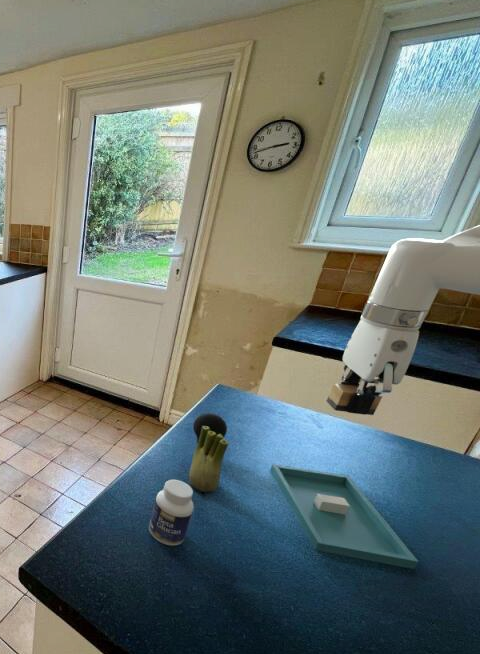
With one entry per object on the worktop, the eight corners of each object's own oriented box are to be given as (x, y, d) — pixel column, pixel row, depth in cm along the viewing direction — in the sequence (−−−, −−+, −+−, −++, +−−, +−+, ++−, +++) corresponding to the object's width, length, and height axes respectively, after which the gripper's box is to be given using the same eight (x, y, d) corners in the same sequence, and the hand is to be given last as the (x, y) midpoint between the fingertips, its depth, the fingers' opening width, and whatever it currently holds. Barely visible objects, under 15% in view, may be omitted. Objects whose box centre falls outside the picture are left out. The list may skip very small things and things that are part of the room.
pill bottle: (149, 542, 67) (161, 495, 62) (147, 517, 71) (158, 473, 67) (186, 550, 65) (201, 503, 61) (181, 525, 70) (195, 480, 66)
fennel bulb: (184, 473, 81) (198, 422, 76) (211, 478, 80) (228, 426, 75) (189, 494, 76) (205, 440, 71) (219, 499, 75) (237, 445, 70)
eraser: (362, 405, 80) (371, 387, 78) (373, 415, 76) (382, 396, 75) (326, 401, 81) (333, 383, 79) (334, 410, 78) (343, 392, 76)
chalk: (339, 506, 73) (344, 497, 72) (345, 514, 71) (350, 506, 70) (313, 502, 74) (317, 493, 73) (318, 510, 72) (322, 501, 71)
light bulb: (181, 446, 89) (192, 407, 85) (210, 448, 89) (222, 408, 84) (192, 464, 84) (204, 422, 80) (222, 465, 84) (236, 424, 79)
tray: (344, 484, 79) (349, 475, 78) (412, 571, 62) (419, 561, 61) (268, 472, 82) (272, 464, 81) (313, 552, 65) (318, 542, 64)
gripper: (455, 334, 62) (400, 434, 70) (390, 303, 77) (351, 389, 85) (394, 329, 64) (348, 427, 72) (342, 299, 79) (308, 384, 87)
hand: (350, 406), depth 79 cm, fingers closed on eraser, 3 cm apart
